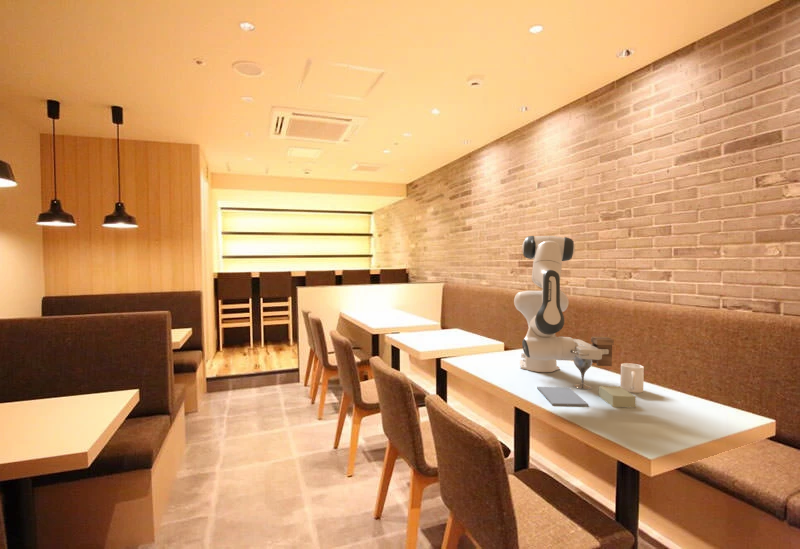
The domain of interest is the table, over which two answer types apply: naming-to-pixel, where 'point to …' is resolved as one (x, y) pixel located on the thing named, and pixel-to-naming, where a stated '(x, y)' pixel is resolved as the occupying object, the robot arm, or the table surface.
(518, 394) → the table surface
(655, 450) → the table surface
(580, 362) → the wine glass
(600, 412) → the table surface
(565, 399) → the mat
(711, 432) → the table surface
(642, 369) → the mug
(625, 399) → the pale olive rectangular block
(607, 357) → the stool
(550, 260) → the robot arm
